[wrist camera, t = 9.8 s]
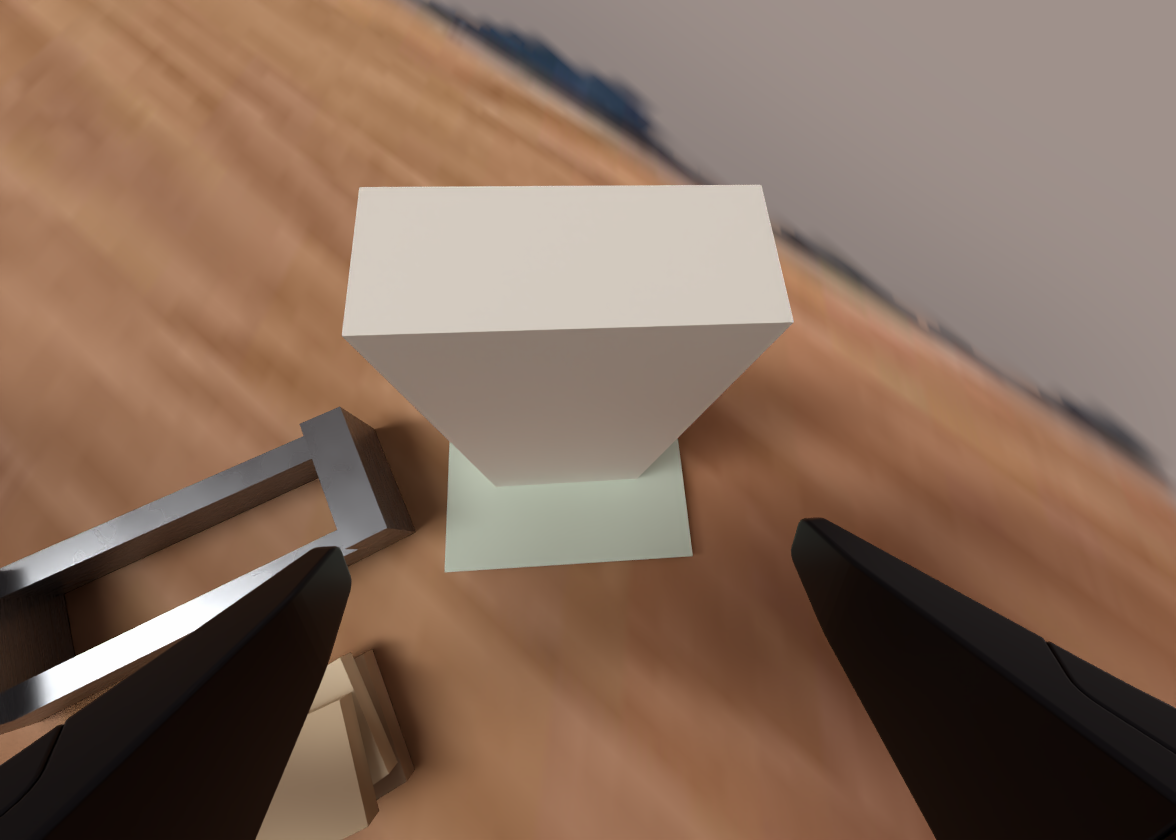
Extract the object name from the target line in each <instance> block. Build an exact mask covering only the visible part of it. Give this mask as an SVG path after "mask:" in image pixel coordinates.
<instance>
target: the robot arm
mask: <svg viewBox="0 0 1176 840" xmlns="http://www.w3.org/2000/svg"><path fill="white" fill-rule="evenodd" d="M791 555H792V560H793V563H794V565H795V567H796V570H797V572H798V574H799V577H800V579H801V581H802V584H803V586H804V588H805V591H806V593H807V595H808V598H809V600H810V602H811V605H812V607H813V610H814V612H815V614H816V617H817V619H818V621H819V623H820V626H821V628H822V630H823V632H824V634H825V636H826V638H827V640H828V642H829V644H830V646H831V647H832V649H833V651H834V653H835V655H836V657H837V658H838V660H839V662H840V664H841V666H842V667H843V669H844V671H845V673H846V675H847V677H848V678H849V680H850V682H851V684H852V686H853V688H854V689H855V691H856V693H857V695H858V697H859V699H860V700H861V702H862V704H863V706H864V708H865V710H866V711H867V713H868V715H869V717H870V719H871V721H872V722H873V724H874V726H875V728H876V730H877V732H878V733H879V735H880V737H881V739H882V741H883V743H884V744H885V746H886V748H887V750H888V752H889V754H890V755H891V757H892V759H893V761H894V763H895V765H896V766H897V768H898V770H899V772H900V774H901V776H902V777H903V779H904V781H905V783H906V785H907V787H908V788H909V790H910V792H911V794H912V796H913V798H914V799H915V801H916V803H917V805H918V807H919V809H920V810H921V812H922V814H923V816H924V818H925V820H926V821H927V823H928V825H929V827H930V829H931V831H932V832H933V834H934V836H935V838H936V840H1176V708H1174V707H1172V706H1170V705H1169V704H1167V703H1165V702H1163V701H1161V700H1159V699H1157V698H1155V697H1153V696H1151V695H1149V694H1147V693H1145V692H1143V691H1141V690H1139V689H1137V688H1135V687H1133V686H1131V685H1129V684H1127V683H1125V682H1124V681H1122V680H1120V679H1118V678H1116V677H1114V676H1112V675H1110V674H1109V673H1107V672H1105V671H1103V670H1101V669H1099V668H1097V667H1095V666H1094V665H1092V664H1090V663H1088V662H1086V661H1084V660H1082V659H1080V658H1079V657H1077V656H1075V655H1073V654H1071V653H1070V652H1068V651H1066V650H1064V649H1062V648H1060V647H1059V646H1057V645H1055V644H1053V643H1051V642H1045V640H1044V639H1043V638H1042V637H1040V636H1038V635H1037V634H1035V633H1033V632H1031V631H1029V630H1027V629H1026V628H1024V627H1022V626H1020V625H1018V624H1016V623H1015V622H1013V621H1011V620H1009V619H1007V618H1005V617H1004V616H1002V615H1000V614H998V613H996V612H994V611H993V610H991V609H989V608H987V607H985V606H983V605H982V604H980V603H978V602H976V601H974V600H973V599H971V598H969V597H967V596H965V595H963V594H962V593H960V592H958V591H956V590H954V589H952V588H951V587H949V586H947V585H945V584H943V583H941V582H940V581H938V580H936V579H934V578H932V577H930V576H929V575H927V574H925V573H923V572H921V571H919V570H918V569H916V568H914V567H912V566H910V565H909V564H907V563H905V562H903V561H901V560H899V559H898V558H896V557H894V556H892V555H890V554H888V553H887V552H885V551H883V550H881V549H879V548H877V547H876V546H874V545H872V544H870V543H868V542H866V541H865V540H863V539H861V538H859V537H857V536H855V535H854V534H852V533H850V532H848V531H846V530H844V529H843V528H841V527H839V526H837V525H835V524H834V523H832V522H830V521H828V520H826V519H824V518H819V517H818V518H804V519H802V520H801V521H800V522H799V524H798V527H797V530H796V534H795V537H794V541H793V544H792V548H791ZM350 590H351V575H350V573H349V570H348V567H347V564H346V561H345V559H344V556H343V553H342V551H341V549H340V548H339V547H337V546H323V547H315V548H313V549H311V550H309V551H308V552H306V553H305V554H304V555H302V556H301V557H299V558H298V559H296V560H295V561H293V562H292V563H291V564H289V565H288V566H286V567H285V568H283V569H282V570H281V571H279V572H278V573H276V574H275V575H273V576H272V577H271V578H269V579H268V580H266V581H265V582H263V583H262V584H260V585H259V586H258V587H256V588H255V589H253V590H252V591H250V592H249V593H248V594H246V595H245V596H243V597H242V598H240V599H239V600H238V601H236V602H235V603H233V604H232V605H230V606H229V607H227V608H226V609H225V610H223V611H222V612H220V613H219V614H217V615H216V616H215V617H213V618H212V619H210V620H209V621H207V622H206V623H205V624H203V625H202V626H200V627H199V628H197V629H196V630H194V631H193V632H192V633H190V634H189V635H187V636H186V637H184V638H183V639H182V640H180V641H179V642H177V643H176V644H174V645H173V646H172V647H170V648H169V649H167V650H166V651H164V652H163V653H161V654H160V655H159V656H157V657H156V658H154V659H153V660H151V661H150V662H149V663H147V664H146V665H144V666H143V667H141V668H140V669H138V670H137V671H136V672H134V673H133V674H131V675H130V676H128V677H127V678H126V679H124V680H123V681H121V682H120V683H118V684H117V685H115V686H114V687H113V688H111V689H110V690H108V691H107V692H105V693H104V694H103V695H101V696H100V697H98V698H97V699H95V700H94V701H92V702H91V703H90V704H88V705H87V706H85V707H84V708H82V709H81V710H80V711H78V712H77V713H75V714H74V715H72V716H71V717H69V718H68V719H67V720H66V722H65V724H64V725H63V724H62V725H58V726H56V727H55V728H53V729H52V730H51V731H49V732H48V733H46V734H45V735H44V736H42V737H41V738H39V739H38V740H36V741H35V742H33V743H32V744H31V745H29V746H28V747H26V748H25V749H23V750H22V751H21V752H19V753H18V754H16V755H15V756H13V757H12V758H10V759H9V760H7V761H6V762H4V763H3V764H2V765H0V840H256V837H257V835H258V833H259V830H260V828H261V825H262V823H263V821H264V818H265V816H266V813H267V811H268V809H269V806H270V804H271V801H272V799H273V797H274V794H275V792H276V789H277V787H278V785H279V782H280V780H281V778H282V775H283V773H284V770H285V768H286V766H287V763H288V761H289V758H290V756H291V754H292V751H293V749H294V746H295V744H296V742H297V739H298V737H299V734H300V732H301V730H302V727H303V725H304V722H305V720H306V718H307V715H308V713H309V710H310V708H311V706H312V703H313V701H314V699H315V696H316V694H317V691H318V689H319V687H320V684H321V681H322V679H323V676H324V674H325V671H326V668H327V665H328V662H329V659H330V656H331V653H332V649H333V646H334V643H335V640H336V636H337V633H338V630H339V626H340V623H341V620H342V616H343V613H344V610H345V607H346V603H347V600H348V597H349V593H350Z"/></svg>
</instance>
